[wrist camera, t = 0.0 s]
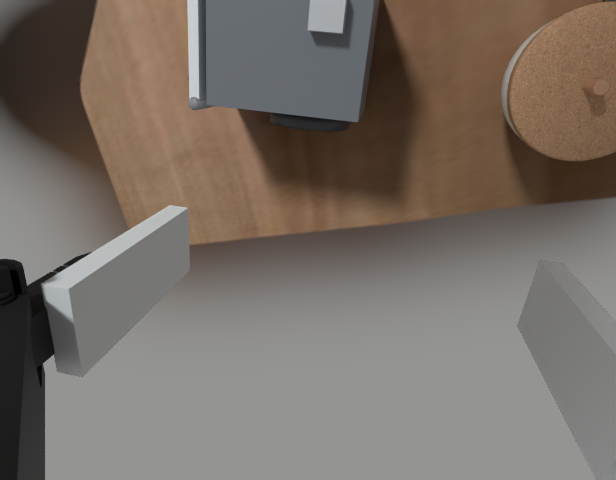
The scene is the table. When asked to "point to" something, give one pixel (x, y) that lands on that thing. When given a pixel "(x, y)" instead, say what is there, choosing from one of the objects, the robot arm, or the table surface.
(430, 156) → the table surface
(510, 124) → the lidded jar
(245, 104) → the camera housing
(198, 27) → the side door
